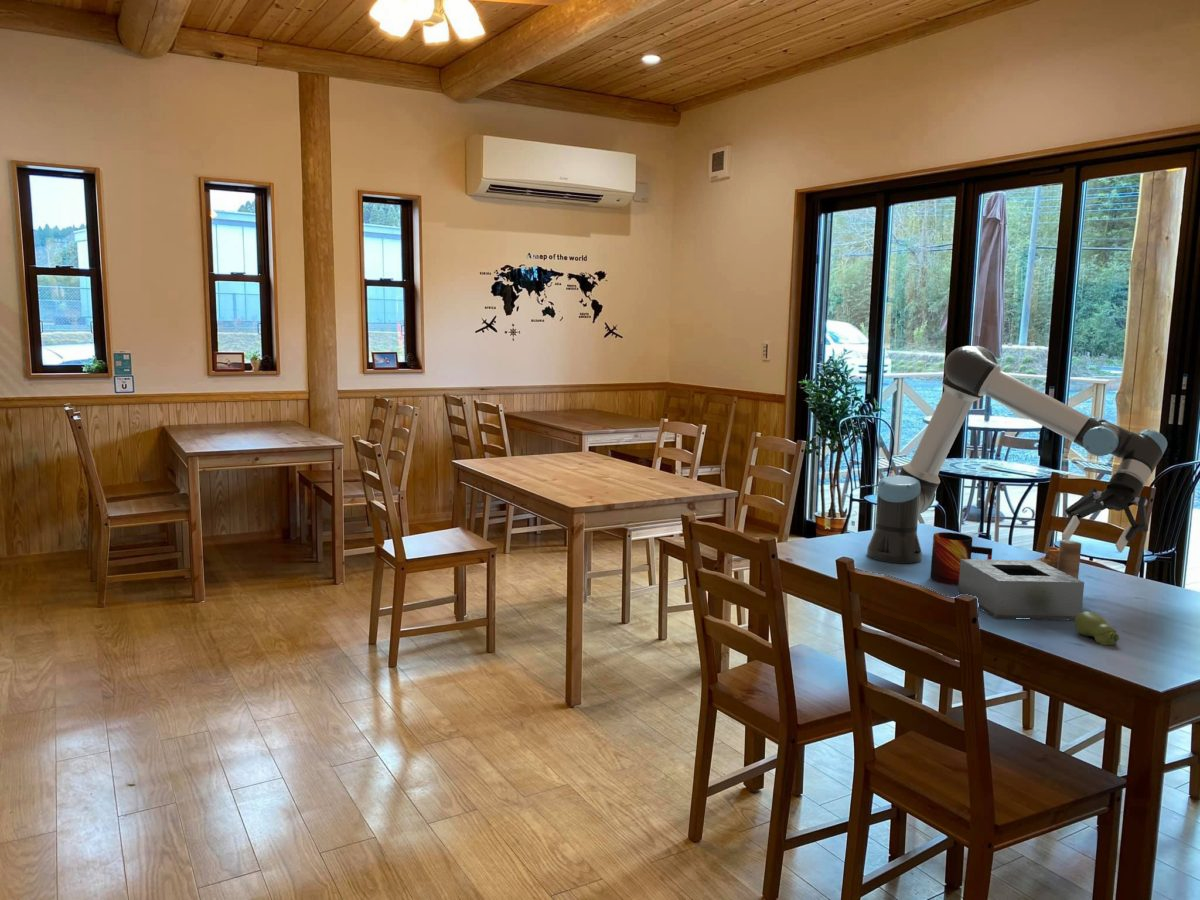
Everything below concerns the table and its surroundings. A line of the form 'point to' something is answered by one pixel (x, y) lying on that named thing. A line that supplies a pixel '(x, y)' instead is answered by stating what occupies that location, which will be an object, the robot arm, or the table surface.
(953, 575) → the mug
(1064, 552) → the peg
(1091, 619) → the pear
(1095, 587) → the table surface
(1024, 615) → the box
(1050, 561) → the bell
